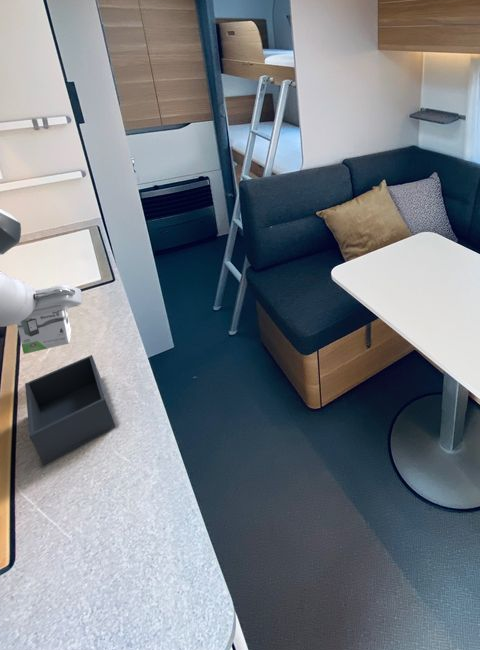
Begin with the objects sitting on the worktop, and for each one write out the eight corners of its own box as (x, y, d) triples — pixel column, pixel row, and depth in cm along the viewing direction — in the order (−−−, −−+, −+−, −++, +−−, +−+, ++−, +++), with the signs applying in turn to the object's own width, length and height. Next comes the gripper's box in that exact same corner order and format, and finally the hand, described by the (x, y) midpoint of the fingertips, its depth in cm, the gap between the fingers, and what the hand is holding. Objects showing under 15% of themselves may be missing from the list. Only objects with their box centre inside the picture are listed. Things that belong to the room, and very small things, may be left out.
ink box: (23, 355, 92) (11, 308, 89) (27, 343, 96) (17, 298, 93) (69, 344, 96) (60, 299, 93) (72, 333, 100) (63, 289, 97)
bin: (38, 410, 90) (24, 383, 87) (101, 380, 97) (91, 354, 94) (44, 465, 79) (29, 436, 76) (115, 426, 86) (105, 399, 83)
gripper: (68, 273, 84) (91, 287, 96) (-61, 299, 77) (-19, 311, 89) (70, 303, 82) (92, 314, 94) (-63, 333, 75) (-20, 340, 87)
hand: (37, 313), depth 92 cm, fingers closed on ink box, 8 cm apart
